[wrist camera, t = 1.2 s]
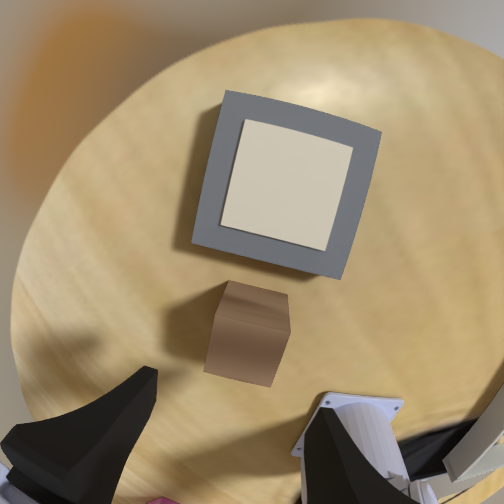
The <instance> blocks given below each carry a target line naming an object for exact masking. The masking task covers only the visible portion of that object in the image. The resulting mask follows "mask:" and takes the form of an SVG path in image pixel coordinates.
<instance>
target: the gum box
mask: <svg viewBox="0 0 504 504" xmlns="http://www.w3.org/2000/svg"><path fill="white" fill-rule="evenodd" d="M146 504H178V503H175V502H173V501H171V500H169V499H166V498H164V497H161V498H159V499H156V500H153V501H151V502H149V503H146Z"/></svg>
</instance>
